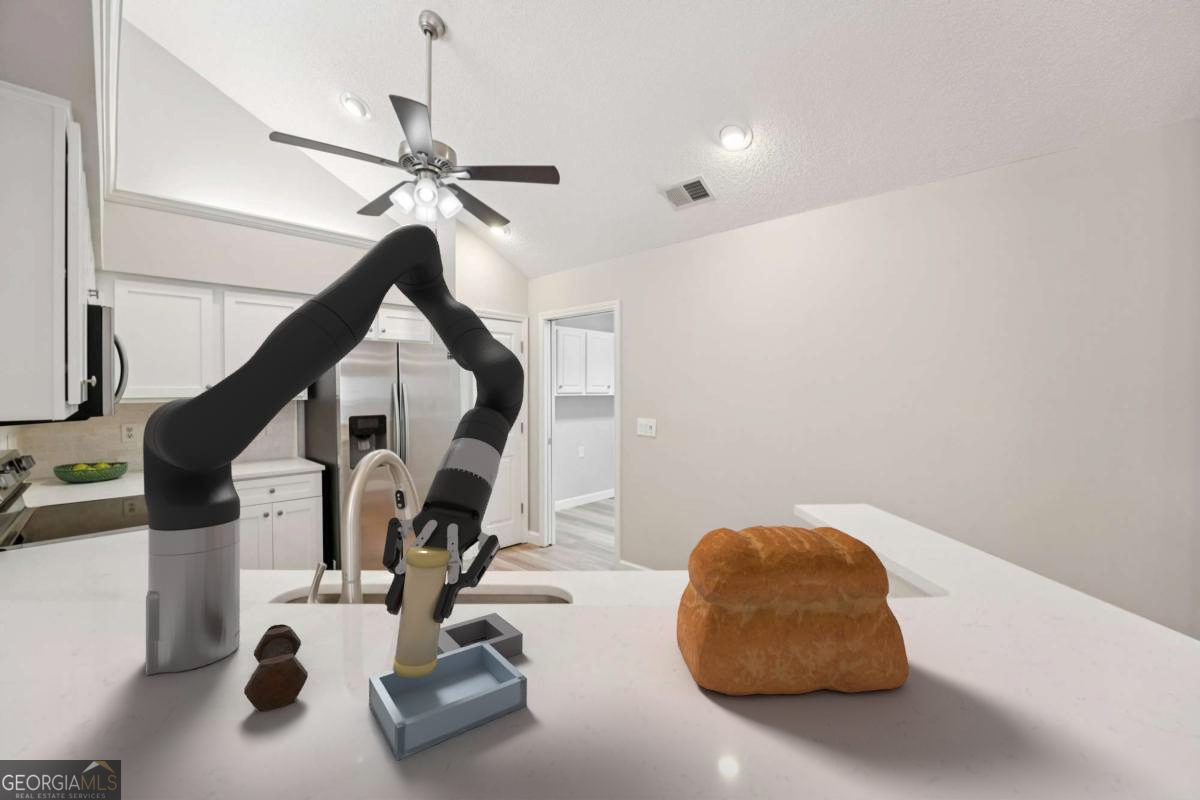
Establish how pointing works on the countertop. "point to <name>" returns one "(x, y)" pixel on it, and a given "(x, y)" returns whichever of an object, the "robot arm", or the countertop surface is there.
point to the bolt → (276, 670)
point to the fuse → (420, 612)
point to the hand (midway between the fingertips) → (414, 616)
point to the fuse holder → (482, 635)
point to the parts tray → (446, 698)
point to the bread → (788, 614)
